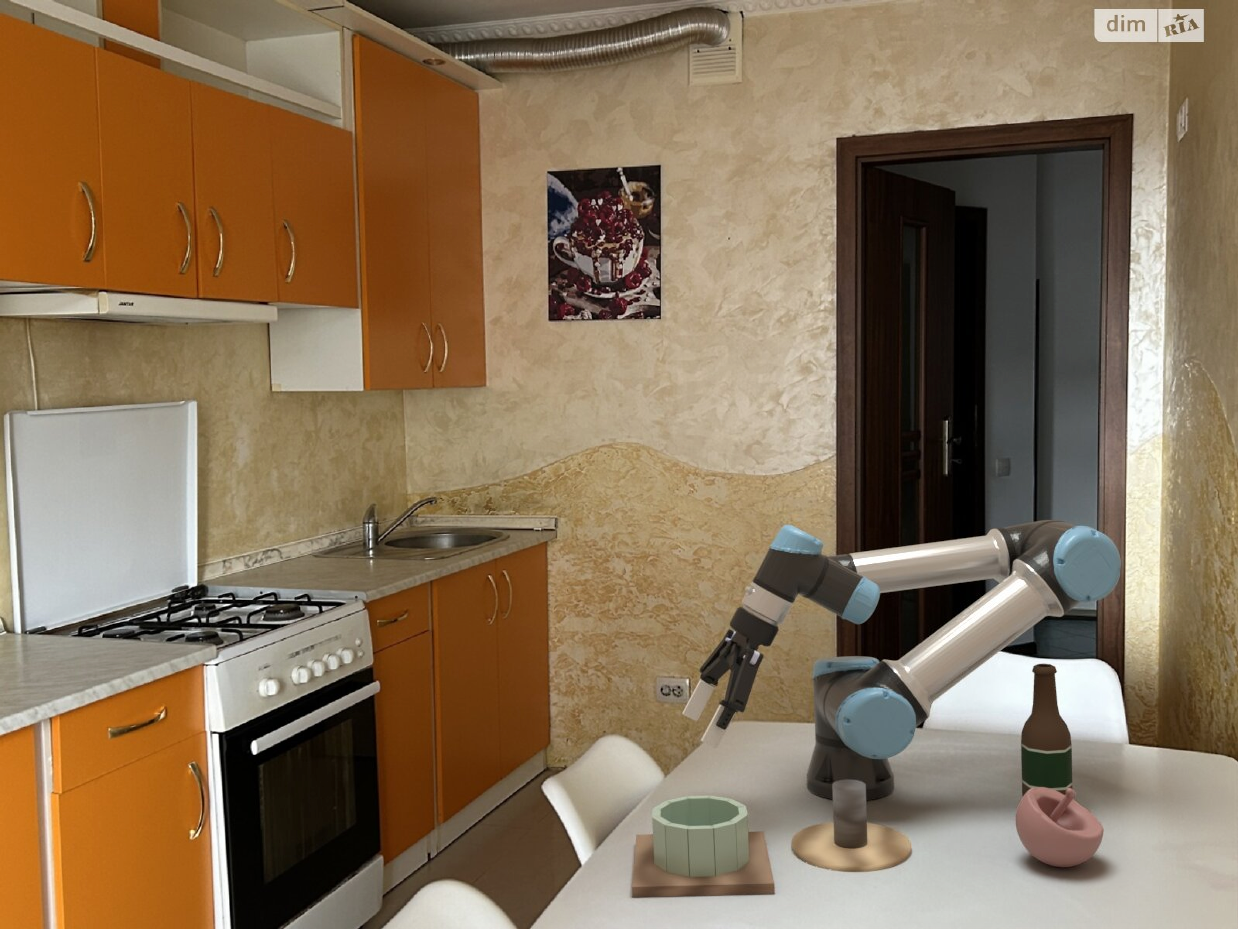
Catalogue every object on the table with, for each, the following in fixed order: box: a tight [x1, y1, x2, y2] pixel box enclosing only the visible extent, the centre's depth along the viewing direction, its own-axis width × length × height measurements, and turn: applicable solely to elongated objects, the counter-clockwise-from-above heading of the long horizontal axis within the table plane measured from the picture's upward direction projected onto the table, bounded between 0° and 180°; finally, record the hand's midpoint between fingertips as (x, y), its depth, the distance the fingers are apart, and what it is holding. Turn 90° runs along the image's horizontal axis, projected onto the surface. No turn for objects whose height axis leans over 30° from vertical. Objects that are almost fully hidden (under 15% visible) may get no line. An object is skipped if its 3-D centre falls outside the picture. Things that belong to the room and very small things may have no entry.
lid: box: [791, 780, 912, 873], centre depth 184 cm, size 18×18×10 cm
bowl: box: [651, 794, 749, 877], centre depth 179 cm, size 14×14×7 cm
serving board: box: [631, 830, 776, 898], centre depth 180 cm, size 20×20×2 cm
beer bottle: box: [1020, 663, 1074, 798], centre depth 196 cm, size 8×8×24 cm
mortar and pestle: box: [1015, 787, 1105, 868], centre depth 175 cm, size 12×12×12 cm
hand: (698, 730), depth 196 cm, fingers open, 13 cm apart
